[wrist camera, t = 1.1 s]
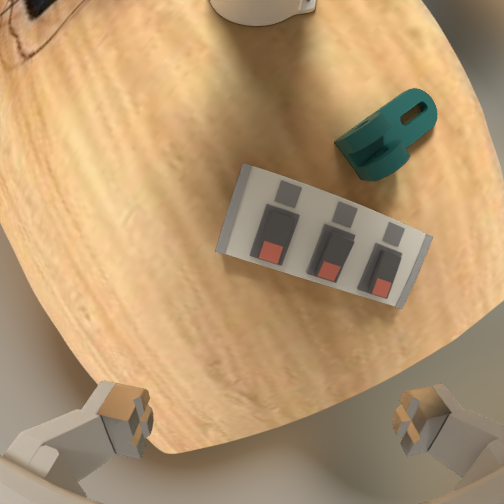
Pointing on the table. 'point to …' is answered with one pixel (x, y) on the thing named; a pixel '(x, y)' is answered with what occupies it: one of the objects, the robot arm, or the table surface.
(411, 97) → the bracket
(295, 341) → the table surface
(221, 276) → the table surface
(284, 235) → the rocker
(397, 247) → the power strip
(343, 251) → the rocker
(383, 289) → the rocker
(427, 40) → the table surface
